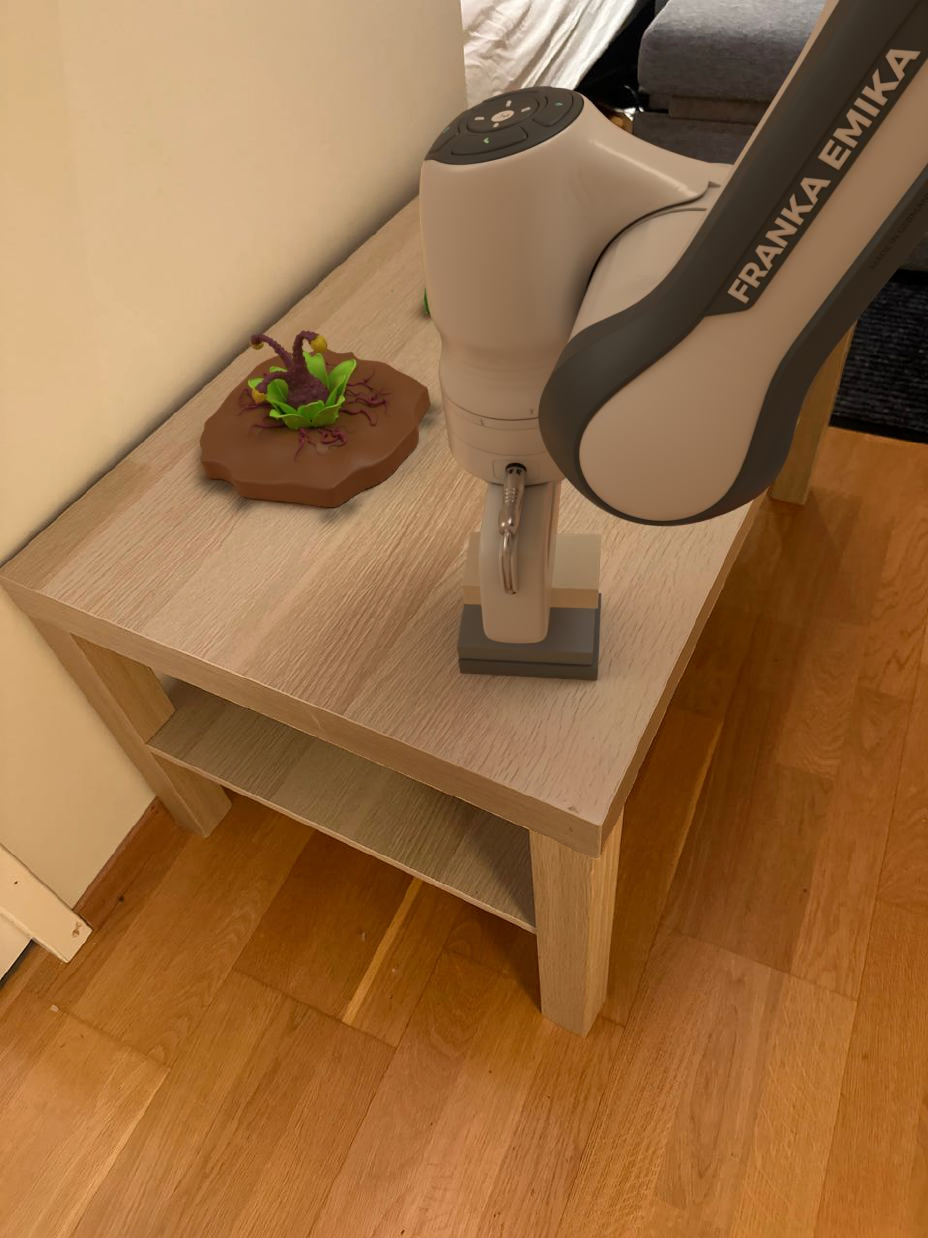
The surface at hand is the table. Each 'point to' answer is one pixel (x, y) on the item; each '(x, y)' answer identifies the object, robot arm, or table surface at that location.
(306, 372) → the plant
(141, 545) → the table surface
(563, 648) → the grey books
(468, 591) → the beige block
